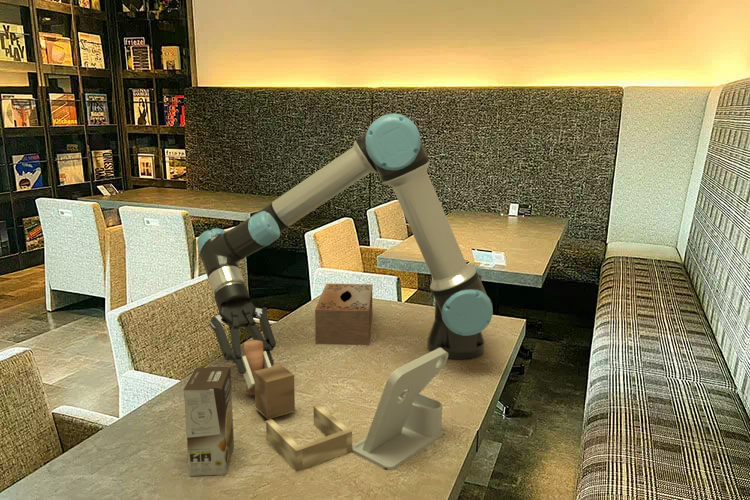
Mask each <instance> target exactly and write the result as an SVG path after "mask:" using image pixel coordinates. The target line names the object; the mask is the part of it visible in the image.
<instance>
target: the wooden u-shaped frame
mask: <svg viewBox="0 0 750 500" xmlns="http://www.w3.org/2000/svg"><path fill="white" fill-rule="evenodd" d="M313 426H315V427H316V428H317V429H318V430H319V431H320V432H321V433H323V435H325V436H324V437H321V438H318V439H315V440H312V441H309V442H306V443H304V444H300V445H299V444H298V443H297V442H296V441H295V440H294V439H293V438H292V437H291V436H289V434H288V433H287V432H286V431H284V430H283V429H282V427H280V426H279V424H278V423H276V422H275V420H273V418H271V419H267V420H265V431H266V435H265V436H266V441H267V442H268V444H270V446H272V448H273V449H274V450H275V451H276V452H277V453H278V454H279V455H280V457H282V458H283V459H284V460H285V461H286V462H287V463H288V464H289V466H290V467H291V468H292V469H293V470H294V471H295V472H296V473H298V472H300V471H304V470H305V469H308V468H311V467H314V466H316V465H319V464H322V463H324V462H328V461H330V460H333V459H335V458H338V457H339V456H343V455H346V454H347V453H351V452H352V446H353V430H351V429H350V428H349V427H347V426H346V425H345V424H343V423H342V422H341V421H340V420H338V419H337V418H336V417H335V416H333V415H332V414H331V412H329V411H327V410H326V409H325V408H324V407H322V405H320V404H316V405H314V406H313Z"/></svg>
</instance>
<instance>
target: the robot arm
mask: <svg viewBox="0 0 750 500" xmlns="http://www.w3.org/2000/svg"><path fill="white" fill-rule="evenodd" d="M430 163H431V162H430V158H429V157H428V155H427V152H426V149H425V147H424V145H423V142H422V140H421V134H420V131H419V130H418V127H417V126H416V124H415V123H414V121H412V120H411V119H410V118H409V117H407V116H405V115H403V114H400V113H387V114H385V115H382V116H380V117H378V118H377V119H375V120H374V121H373V122H372V123H371V124H370V125H369V126H368V129H367V131H366V132H365V133H363V134H362V135H361V136H360V137H358V138H357V139H355V140H354V143H353V146H352V147H351V148H349V149H348V150H346V151H344V153H342V154H340V155H339V156H338V157H336V158H335V159H333V160H332V161H330V162H329V163H327V164H326V165H325V166H323V167H322V168H320V169H319V170H317V171H316V172H314V173H313V174H311V175H310V176H308V177H307V178H305V179H304V180H303V181H301V182H300V183H298V184H296V185H295V186H294V187H292V188H291V189H290V190H287V192H284V193H283V194H282V195H280V196H279V197H277V198H276V199H275V200H273V201H272V202H271V203H269V204H267V205H266V206H265V207H263V208H262V209H259V210H258V211H256V212H255V213H254V214H253V215H252V216H250V217H248V218H247V219H246V220H244V221H242V222H240V223H239V224H237V225H236V226H234V227H232V228H231V229H230V230H227V231H225V229H222V228H212V229H211V230H209V229H207V230H205V231H204V232H202V233H201V234H200V235H199V236H198V238H197V241H196V245H197V249H198V252H199V258H200V260H201V261H202V265H203V268H204V270H205V273H206V275H207V280H208V283H209V286H210V289H211V292H212V294H213V295H214V296H213V297H214V301H215V304H216V307H217V311H218V315H216V316H212V317H211V318H210V320H209V323H208V326H209V327H210V329H212V330H213V331H214V334H215V337H216V340H217V342H218V345H219V347H220V350H221V353H222V356H223V359H224V360H225V361H227V362H228V361H232V363H233V364H235V366H236V370H237V373H239V375H243V377H244V380H245V384H246V383H247V386H248V389H251V388H252V387H253V386H254V384H255V381H254V378H253V376H252V373H251V370H250V367H249V364H248V361H247V358H246V356H245V355H242V348H241V347H242V346H241V338H240V330H239V328H245V330H246V331H247V332H248V333H249V335H250V336H251V339H252V340H260V341H262V342H263V358H264V369H265V368H269V367H273V366H274V363H275V361H274V359H273V355H272V353H271V351H272V352H273V350H274V348H275V347H276V345H277V342H276V340H275V336H274V333H273V331H272V326H271V324H270V320H269V317H268V308H267V307H265V306H264V307H262V308H259V307H256V306H255V305H254V304H253V303H252V299H251V297H250V294H249V291H248V288H247V286H246V285H245V284H246V282H245V280H244V276H243V275H242V272H241V269H240V266H239V262H240V261H243V260H244V259H245V258H247V257H249V256H250V255H253V254H254V253H257V252H258V251H260V250H262V249H264V248H265V247H268V246H270V245H271V244H272V243H273V242H275V241H277V240H278V239H279V238H280V237H281V233H282V232H284V231H285V230H287V229H288V228H289V227H291V226H292V225H293V224H295V223H297V221H299V220H301V219H303V218H304V217H305V216H308V215H309V214H310V213H311V212H313V211H315V210H316V209H317V208H319V207H321V206H322V205H324V204H325V203H326V202H328V201H330V200H331V199H333V198H334V197H335V196H337V195H339V194H340V193H342V192H343V191H345V190H346V189H349V187H351V186H352V185H354V184H355V183H356V182H359V181H360V180H361V179H362V178H364V177H366V176H367V175H369V174H370V173H373V174H377V173H378V175H379V177H380V179H381V182H382V184H385V185H387V186H389V187H391V188H392V190H393V193H394V195H395V196H396V200H397V201H398V204H399V206H400V208H401V211H402V212H403V214H404V217H405V219H406V221H407V224H408V226H409V228H410V230H411V233H412V235H413V237H414V239H415V242H416V244H417V246H418V248H419V250H420V253H421V256H422V257H423V259H424V260H423V261H425V264H426V266H427V268H428V271H429V272H430V275H431V278H432V281H431V283H430V286H429V288H430V291H431V293H432V295H433V298H434V300H435V303H434V305H435V306H434V321H433V324H432V327H431V329H430V331H429V334H428V337H427V340H426V341H427V342H426V343H427V345H426V346H427V347H426V348H427V350H428V351H429V352H432V351H434V350H436V349H438V348H442V349H443V350H445V351H446V352H447V353H448V359H450V360H451V359H452V360H469V359H475V358H477V357H480V356H482V355H483V354H484V352H485V340H484V336H483V333H482V332H483V331H484V330H485V329H486V328H487V327H488V326H489V324H490V323H491V321H492V319H493V314H494V312H493V311H494V310H493V308H494V307H493V303H492V300H491V298H490V297H489V296H488V295H487V292H486V290H485V287H484V285H483V283H482V278H483V274H482V268H481V267H480V266H478V265H474V264H468V263H467V262H466V260H465V258H464V257H465V256H464V255H463V252H462V250H461V248H460V246H459V243H458V241H457V239H456V237H455V234H454V232H453V229H452V228H451V225H450V222H449V220H448V218H447V215H446V213H445V211H444V208H443V206H442V203H441V201H440V199H439V197H438V194H437V192H436V189H435V187H434V185H433V182H432V181H431V179H430V176H429V174H428V168H429V166H430ZM255 315H256V318H257V320H258V321H259V325H260V328H261V331H260V329H259V327H258V326H257V324H256V321H255V319H254V316H255ZM222 323H225V324H226V325H227V326H228V328H229V335H230V341H231V342H230V343H231V346H230V343H229V340H228V337H227V334H226V331H225V329H224V327H223V324H222ZM261 332H262V333H261Z"/></svg>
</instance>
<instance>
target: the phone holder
mask: <svg viewBox="0 0 750 500" xmlns="http://www.w3.org/2000/svg"><path fill="white" fill-rule="evenodd" d="M448 359H449V358H448V353H447V352H446V351H445V350H443V349H442V348H438V349H436V350H434V351H432V352H430V351H429V352H428V353H425V354H423V355H421V356H420V357H418V358H416V359H414V360H411V361H410V362H408V363H405V364H403V365H401V366H399V367H397V368H396V369H394V370H393V371H392V372H391V374H390V375H389V376H388V378H387V380H386V382H385V386H384V388H383V391H382V395H381V396H380V399H379V401H378V405H377V408H376V411H375V413H374V417H373V418H372V421H371V425H370V427H369V429H368V430H369V431H368V433H367V435H366V437H364V438H361V439H360V440H359V441H357V442H355V443H354V444H352V451H351V452H352V453H353V454H354V455H355V456H358V457H360V458H362V459H364V460H366V461H368V462H369V463H372V464H373V465H374V466H375V465H376V466H377V467H379V468H381V469H384V470H385V469H387V471H393V470H396V469H397V468H398V467H400V466H402V465H403V464H404V463H406V462H407V461H408V460H410V459H411V458H412V457H414V456H416V455H417V454H419V453H420V452H421V451H423V450H425V449H426V448H427V447H429V446H430V445H431V444H433V443H434V442H436V441H437V440H439V439H440V438H441V437H443V436H444V430H443V429H442V427H443V426H442V425H443V424H442V423H443V422H442V421H443V420H442V419H443V403H441V402H440V401H439V400H436V399H434V398H431V397H429V396H427V395H424V394H421V392H422V391H423V390H424V389H425V388H426V387H427V386H428V385H429V383H430V382H431V381H432V380H433V379H434V378H435V377H436V376H437V375H438V374H439V373H440V372H441V371H442V369H443V368H444V367H445V366H446V364H447V361H448Z"/></svg>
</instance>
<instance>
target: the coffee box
mask: <svg viewBox="0 0 750 500" xmlns="http://www.w3.org/2000/svg"><path fill="white" fill-rule="evenodd" d="M183 392H184V393H183V396H184V410H185V428H186V430H185V431H186V444H187V460H188V475H189V476H190V477H196V476H197V477H198V476H215V475H216V476H218V475H222V476H223V475H225V474H226V473H227V470H228V468H229V467H228V466H229V464H230V460H231V456H232V453H233V450H234V447H235V442H234V441H235V439H234V438H235V437H234V436H235V435H234V417H233V393H232V392H233V391H232V370H231V366H206V367H195V369H194V370H193V371H192V374H191V376H190V377H189V379H188V381H187V382H186V385H185V386H184V388H183Z"/></svg>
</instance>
